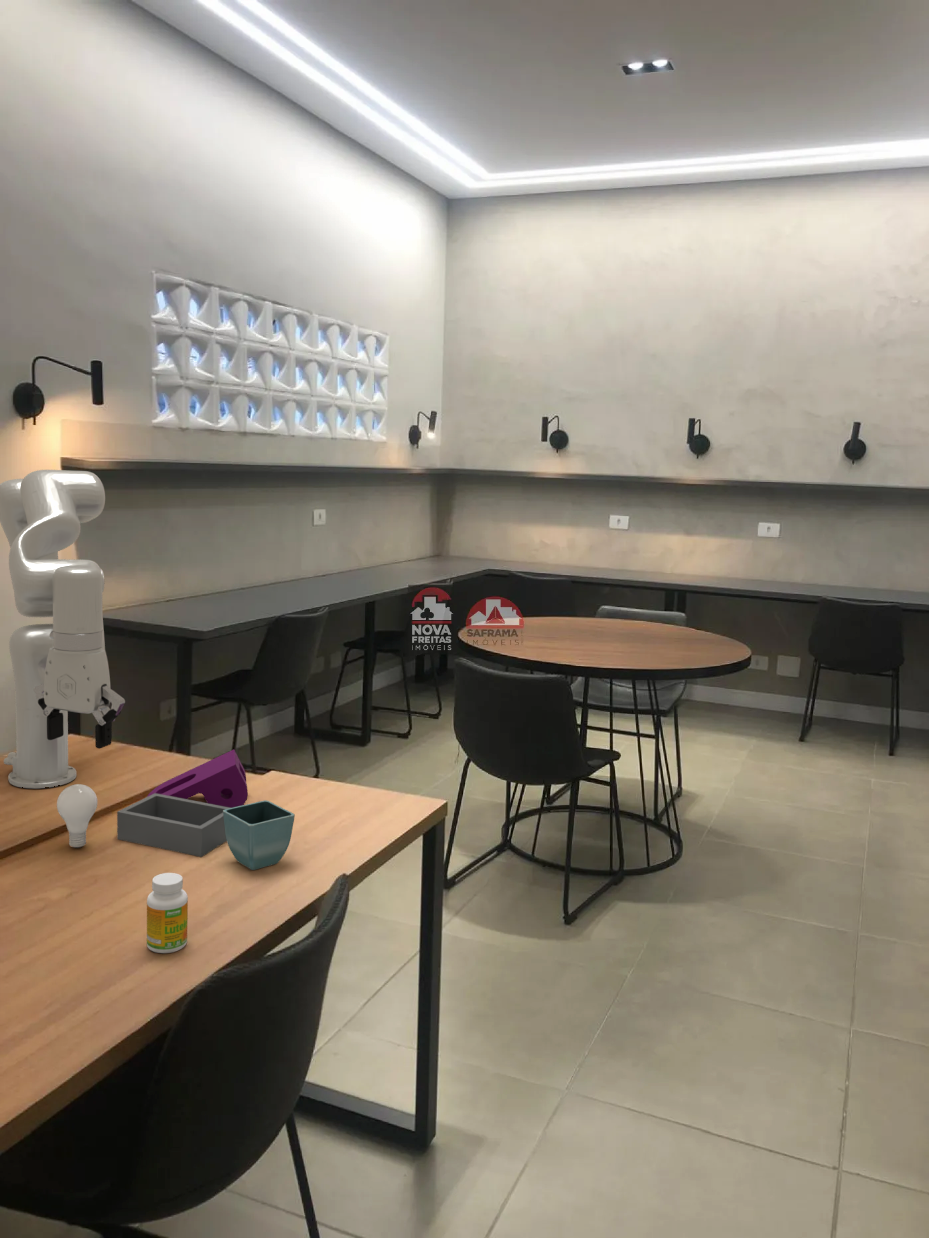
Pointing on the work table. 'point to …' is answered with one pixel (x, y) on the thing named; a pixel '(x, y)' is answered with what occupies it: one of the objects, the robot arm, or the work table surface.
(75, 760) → the work table surface
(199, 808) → the open box
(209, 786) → the mounting bracket
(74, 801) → the lightbulb
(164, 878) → the supplement bottle
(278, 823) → the flower pot
